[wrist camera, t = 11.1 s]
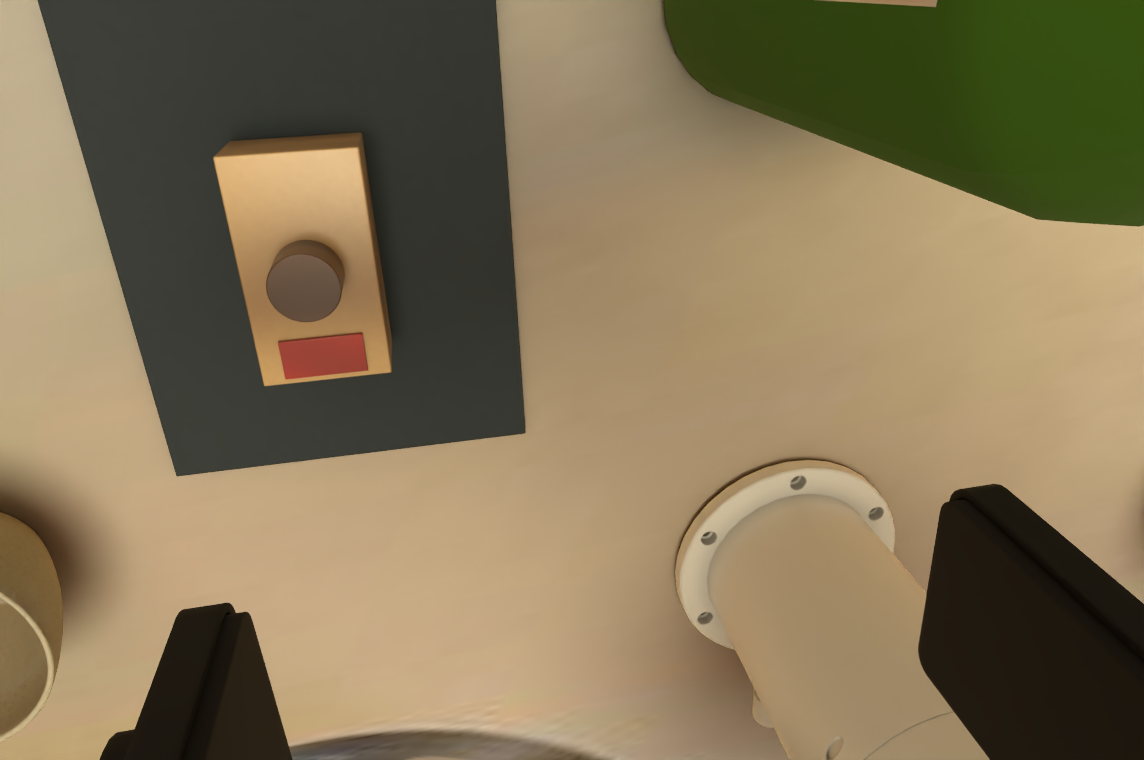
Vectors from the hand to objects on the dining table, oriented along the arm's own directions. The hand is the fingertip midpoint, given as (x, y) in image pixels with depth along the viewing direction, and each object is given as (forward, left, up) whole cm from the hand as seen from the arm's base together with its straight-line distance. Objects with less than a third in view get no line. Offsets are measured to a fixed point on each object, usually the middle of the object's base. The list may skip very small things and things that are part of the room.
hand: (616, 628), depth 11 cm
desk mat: (-2, +6, -27) cm, 28 cm away
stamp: (-2, +7, -27) cm, 27 cm away
